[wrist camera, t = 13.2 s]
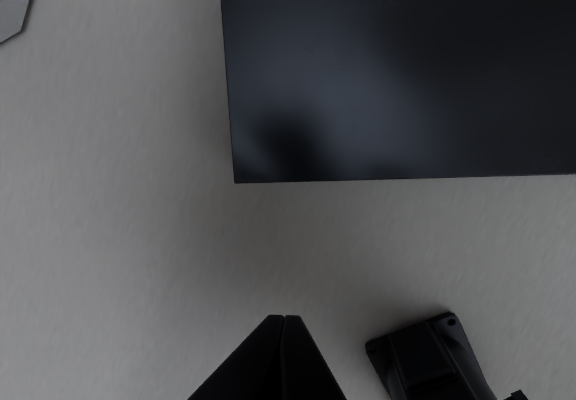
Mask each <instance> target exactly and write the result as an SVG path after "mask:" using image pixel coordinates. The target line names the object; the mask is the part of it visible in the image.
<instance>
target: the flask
mask: <svg viewBox="0 0 576 400" xmlns="http://www.w3.org/2000/svg"><path fill="white" fill-rule="evenodd" d="M28 3H29V0H0V42H2V41H3V40H5V39H7V38H9V37H10V36H12V35H14V34H16V33H17V32H19V31H21V27H22V24H23V20H24V17H25V13H26V10H27V6H28Z"/></svg>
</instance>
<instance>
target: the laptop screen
mask: <svg viewBox="0 0 576 400" xmlns="http://www.w3.org/2000/svg"><path fill="white" fill-rule="evenodd" d="M221 12H222V25H223V39H224V52H225V65H226V79H227V92H228V105H229V119H230V132H231V145H232V159H233V172H234V183H235V184H237V183H274V182H310V181H347V180H384V179H420V178H457V177H494V176H530V175H567V174H576V0H221Z"/></svg>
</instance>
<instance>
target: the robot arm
mask: <svg viewBox="0 0 576 400" xmlns="http://www.w3.org/2000/svg"><path fill="white" fill-rule="evenodd" d="M450 319H452V321H450V322H448V320H450ZM371 348H375V349H373V350H371ZM365 350H366V353H367V355H368V357H369V359H370V361H371V363H372V365H373V366H374V368H375V370H376V372H377V374H378V376H379V378H380V379H381V381H382V383H383V385H384V387H385V389H386V391H387V393H388V394H389V396H390V398H391V400H497V398H496V397H495V395H494V394H493V392H492V391H491V389H490V388H489V386H488V385H487V383H486V380H485V378H484V375H483V373H482V371H481V369H480V366H479V364H478V362H477V360H476V357H475V355H474V353H473V350H472V348H471V346H470V344H469V341H468V339H467V337H466V335H465V332H464V330H463V328H462V326H461V323H460V321H459V319H458V318H457V316H456V315H455V314H454V313H452V312H447V313H444V314H441V315H439V316H436V317H433V318H430V319H428V320H425V321H422V322H420V323H417V324H414V325H412V326H409V327H406V328H403V329H401V330H398V331H395V332H393V333H390V334H387V335H385V336H382V337H379V338H376V339H374V340H371V341H369V342H367V343H366V344H365ZM187 400H347V399H346V398H345V396H344V394H343V392H342V390H341V389H340V387H339V385H338V383H337V381H336V380H335V378H334V376H333V374H332V372H331V371H330V369H329V367H328V365H327V363H326V361H325V360H324V358H323V356H322V354H321V352H320V351H319V349H318V347H317V345H316V343H315V342H314V340H313V338H312V336H311V334H310V333H309V331H308V329H307V327H306V325H305V324H304V322H303V320H302V318H301V317H300V316H298V315H286V316H285V317H284V316H283V315H268V316H267V317H266V318H265V319H264V320H263V321H262V322H261V323H260V324H259V325H258V326H257V327H256V328H255V330H254V331H253V332H252V333H251V334H250V335H249V336H248V337H247V338H246V339H245V340H244V341H243V342H242V343H241V344H240V345H239V346H238V347H237V348H236V349H235V350H234V351H233V352H232V353H231V355H230V356H229V357H228V358H227V359H226V360H225V361H224V362H223V363H222V364H221V365H220V366H219V367H218V368H217V369H216V370H215V371H214V372H213V373H212V374H211V375H210V376H209V377H208V378H207V379H206V381H205V382H204V383H203V384H202V385H201V386H200V387H199V388H198V389H197V390H196V391H195V392H194V393H193V394H192V395H191V396H190V397H189V398H188V399H187ZM504 400H528V399H527V397H526V396H525V395H524V394H523V392H522V391H521V390H518V391H515V392H513V393H511V396H510V397H508V398H506V399H504Z"/></svg>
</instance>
